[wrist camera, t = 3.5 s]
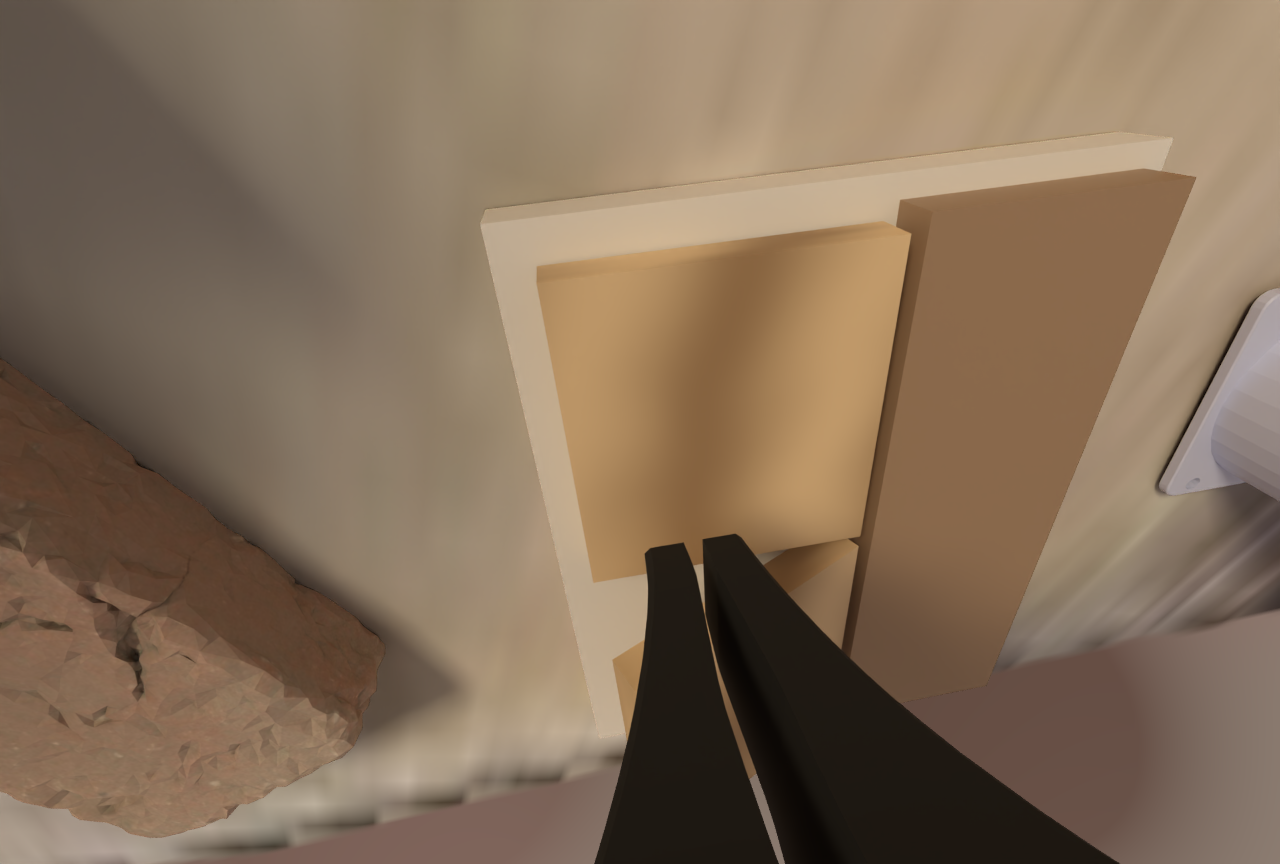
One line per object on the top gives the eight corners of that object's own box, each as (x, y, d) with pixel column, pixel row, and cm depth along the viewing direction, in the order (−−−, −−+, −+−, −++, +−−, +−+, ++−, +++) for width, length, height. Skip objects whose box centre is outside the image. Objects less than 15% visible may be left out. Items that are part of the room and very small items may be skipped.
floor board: (1118, 131, 15) (1229, 144, 12) (952, 634, 26) (994, 692, 23) (485, 209, 13) (474, 240, 11) (595, 704, 24) (602, 772, 22)
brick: (403, 638, 21) (371, 769, 17) (223, 729, 22) (155, 872, 18) (-128, 228, 12) (-448, 303, 8) (-381, 414, 13) (-770, 558, 9)
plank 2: (827, 525, 18) (858, 546, 17) (807, 688, 23) (830, 711, 22) (612, 660, 15) (637, 694, 14) (641, 818, 20) (661, 851, 19)
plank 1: (883, 220, 13) (911, 233, 12) (842, 510, 18) (860, 536, 17) (536, 266, 13) (536, 283, 12) (590, 553, 17) (593, 583, 16)
